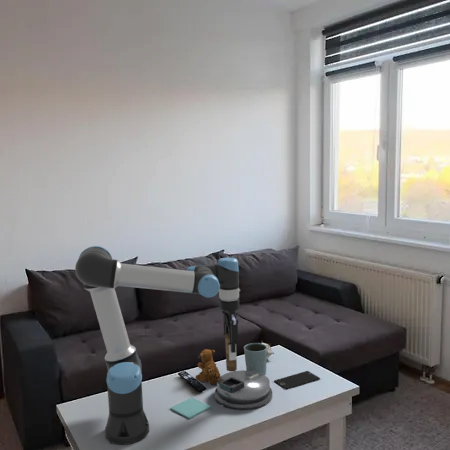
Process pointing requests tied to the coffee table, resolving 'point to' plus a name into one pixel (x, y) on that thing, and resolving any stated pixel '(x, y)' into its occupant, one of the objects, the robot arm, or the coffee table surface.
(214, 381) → the brown teddy bear
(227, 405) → the base
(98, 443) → the coffee table surface
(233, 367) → the key peg
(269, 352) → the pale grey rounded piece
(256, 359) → the green cup
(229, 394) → the disc
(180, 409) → the key mat
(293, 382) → the cell phone
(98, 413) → the coffee table surface
